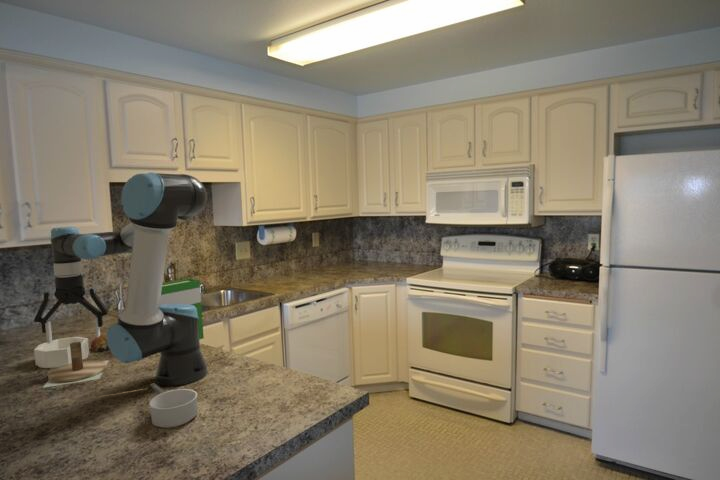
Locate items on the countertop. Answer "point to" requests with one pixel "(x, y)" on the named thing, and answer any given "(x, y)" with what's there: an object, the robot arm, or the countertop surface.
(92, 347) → the bread roll
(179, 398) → the saucepan
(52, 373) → the lid
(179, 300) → the hardback book
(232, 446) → the countertop surface
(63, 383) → the mat
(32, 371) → the countertop surface
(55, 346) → the bowl
